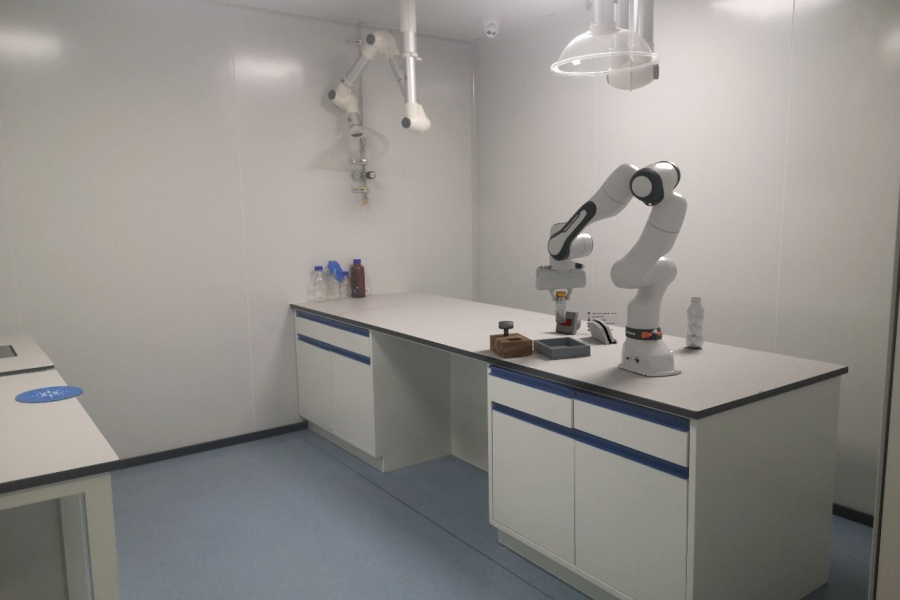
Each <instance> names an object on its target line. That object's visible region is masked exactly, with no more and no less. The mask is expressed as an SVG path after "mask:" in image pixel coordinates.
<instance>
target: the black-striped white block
mask: <svg viewBox="0 0 900 600" xmlns="http://www.w3.org/2000/svg"><path fill="white" fill-rule="evenodd" d="M587 323H588V324H587V326H589V328H588V329H590V331H589V332H590V335H591V337H592V338H594V339H596V340H597V339H598V341H599V340H600V341H599V342H601V341H602V343H603V342H604V343H603V344H605V343H606V344H605V345H609V344H610V343H615V344H619V342H618V339H616V338H615V337H613V334H612V332H611V330H610V326H609V324H607V322H605V321H603V319H602V320H601V319H600V318H596V319H594V320H593V321H592V320H590V321H588V322H587Z"/></svg>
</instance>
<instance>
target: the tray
mask: <svg viewBox="0 0 900 600" xmlns="http://www.w3.org/2000/svg"><path fill="white" fill-rule="evenodd" d="M532 340H533V349H534V350H533V351H535V352H537V353H538V352H539V353H538V354H540V353H541V354H540V355H542V354H543V355H542V356H544V355H545V356H544V357H546V356H547V357H546V358H548V357H549V358H548V359H550V358H551V359H550V360H552V359H553V360H560V359H559V358H564V359H570V358H569V357H574V358H580V357H579V356H584V357H591V345H590V344H588V343H585V342H582V341H580V340H578V339H576V338H573V337H571V336H565V337H562V336H561V337H552V338H550V337H549V338H541V339H532Z"/></svg>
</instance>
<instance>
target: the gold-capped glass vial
mask: <svg viewBox="0 0 900 600" xmlns="http://www.w3.org/2000/svg"><path fill="white" fill-rule="evenodd" d="M566 294H567V290H554V295H555V296H557V301H554V302H555V306H554V308H555V309H554V310H555V311H554V312H555V313H554V314H555V318H554V320H555V323H556V324H557V323H565V322H566V311H567V300H566Z"/></svg>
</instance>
